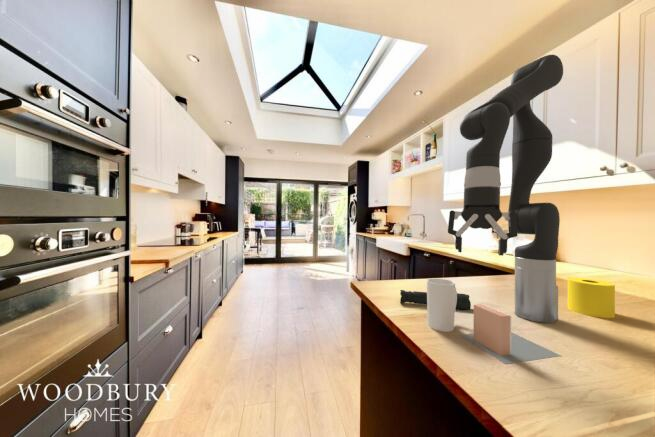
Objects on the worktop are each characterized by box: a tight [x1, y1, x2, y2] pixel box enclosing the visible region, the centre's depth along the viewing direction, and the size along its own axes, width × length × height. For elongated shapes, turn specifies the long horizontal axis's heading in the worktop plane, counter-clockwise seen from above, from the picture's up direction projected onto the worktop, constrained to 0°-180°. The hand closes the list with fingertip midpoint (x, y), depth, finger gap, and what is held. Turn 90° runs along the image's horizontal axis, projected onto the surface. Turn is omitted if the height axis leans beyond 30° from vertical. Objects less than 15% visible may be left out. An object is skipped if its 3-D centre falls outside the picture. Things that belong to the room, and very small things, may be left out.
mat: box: [458, 331, 562, 365], centre depth 54 cm, size 14×12×1 cm
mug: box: [426, 277, 457, 333], centre depth 64 cm, size 10×7×12 cm, turn 119°
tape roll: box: [567, 277, 616, 319], centre depth 76 cm, size 10×10×9 cm
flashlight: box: [399, 289, 472, 311], centre depth 80 cm, size 5×21×5 cm, turn 74°
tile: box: [473, 303, 512, 356], centre depth 53 cm, size 2×7×8 cm, turn 13°
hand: (479, 253), depth 60 cm, fingers open, 8 cm apart
